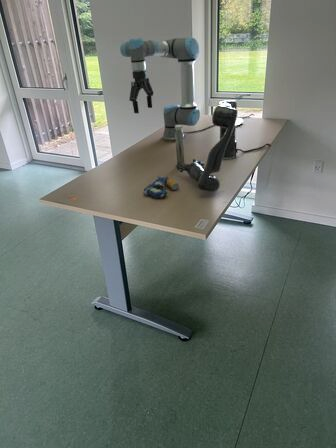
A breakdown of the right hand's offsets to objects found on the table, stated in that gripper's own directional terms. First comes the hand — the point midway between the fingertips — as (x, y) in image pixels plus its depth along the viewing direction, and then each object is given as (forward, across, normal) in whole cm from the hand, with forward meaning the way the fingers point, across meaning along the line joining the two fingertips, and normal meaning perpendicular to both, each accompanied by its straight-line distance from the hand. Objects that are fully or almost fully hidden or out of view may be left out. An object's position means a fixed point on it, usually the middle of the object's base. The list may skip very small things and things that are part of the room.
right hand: (186, 161), depth 189 cm
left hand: (+26, +16, -26) cm, 40 cm away
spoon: (+67, -63, +6) cm, 92 cm away
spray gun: (-18, +19, +6) cm, 27 cm away
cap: (+10, 0, -18) cm, 20 cm away
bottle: (+10, 0, +6) cm, 12 cm away
